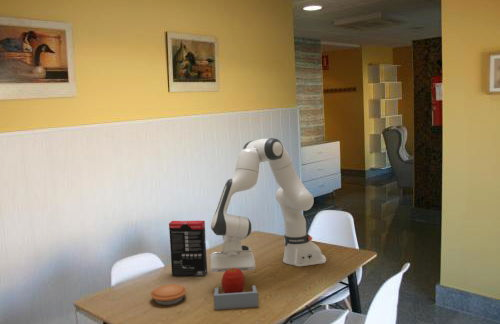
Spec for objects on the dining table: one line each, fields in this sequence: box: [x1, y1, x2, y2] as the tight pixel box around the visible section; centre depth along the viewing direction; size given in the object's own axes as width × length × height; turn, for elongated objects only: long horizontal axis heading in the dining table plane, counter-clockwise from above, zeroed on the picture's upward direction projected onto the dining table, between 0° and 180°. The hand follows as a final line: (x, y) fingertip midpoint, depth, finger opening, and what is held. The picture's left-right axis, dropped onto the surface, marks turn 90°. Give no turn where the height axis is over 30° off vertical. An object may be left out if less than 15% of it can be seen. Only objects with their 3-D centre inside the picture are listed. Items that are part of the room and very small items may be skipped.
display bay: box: [213, 285, 259, 311], centre depth 198 cm, size 18×16×6 cm
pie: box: [150, 283, 188, 306], centre depth 202 cm, size 15×16×5 cm
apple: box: [221, 268, 246, 294], centre depth 200 cm, size 10×10×14 cm
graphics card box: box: [168, 220, 208, 277], centre depth 230 cm, size 17×7×27 cm, turn 84°
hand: (233, 279), depth 206 cm, fingers closed, pressing on apple
